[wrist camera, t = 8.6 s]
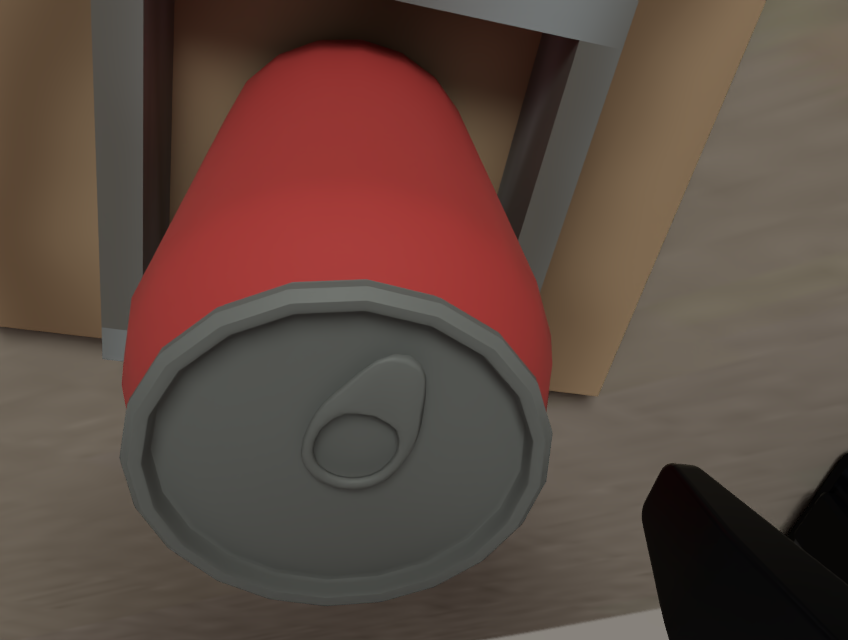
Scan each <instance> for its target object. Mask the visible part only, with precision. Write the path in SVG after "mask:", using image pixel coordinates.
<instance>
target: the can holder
mask: <svg viewBox="0 0 848 640" xmlns="http://www.w3.org/2000/svg"><path fill="white" fill-rule="evenodd" d="M765 3H766V0H0V326H1V327H9V328H18V329H26V330H35V331H43V332H52V333H60V334H69V335H77V336H86V337H95V338H102V356H103V359H107V360H116V361H124V353H125V345H126V337H127V330H128V322H129V314H130V306H131V299H132V296H133V294H134V292H135V290H136V288H137V287H138V285H139V283H140V281H141V279H142V277H143V275H144V273H145V271H146V269H147V267H148V265H149V264H150V262H151V260H152V258H153V256H154V254H155V252H156V250H157V248H158V246H159V244H160V242H161V241H162V239H163V237H164V235H165V233H166V231H167V229H168V227H169V225H170V223H171V221H172V220H173V218H174V216H175V214H176V212H177V210H178V208H179V206H180V204H181V202H182V200H183V198H184V197H185V195H186V193H187V191H188V189H189V187H190V185H191V183H192V181H193V179H194V177H195V176H196V174H197V172H198V170H199V168H200V166H201V164H202V162H203V160H204V158H205V156H206V154H207V153H208V151H209V149H210V147H211V145H212V143H213V141H214V139H215V137H216V135H217V133H218V131H219V130H220V128H221V126H222V124H223V122H224V120H225V118H226V116H227V114H228V113H229V111H230V109H231V108H232V106H233V104H234V102H235V101H236V99H237V97H238V95H239V94H240V92H241V90H242V89H243V87H244V85H245V83H246V82H247V81H248V80H249V79H250V78H251V77H252V76H254V75H255V74H256V73H257V72H258V71H260V70H261V69H262V68H263V67H264V66H266V65H267V64H268V63H269V62H270V61H272V60H273V59H274V58H275V57H276V56H278V55H279V54H282V53H284V52H287V51H290V50H293V49H295V48H298V47H301V46H304V45H306V44H309V43H312V42H315V41H317V40H364V41H367V42H370V43H373V44H376V45H379V46H382V47H386V48H389V49H392V50H395V51H398V52H401V53H403V54H404V55H405V56H407V57H408V58H410V59H411V60H412V61H414V62H415V63H416V64H418V65H419V66H420V67H422V68H423V69H424V70H426V71H427V72H428V73H430V74H431V75H432V76H434V77H435V78H436V79H437V81H438V82H439V84H440V85H441V86H442V88H443V89H444V91H445V92H446V94H447V95H448V96H449V98H450V99H451V101H452V102H453V104H454V105H455V106H456V108H457V109H458V111H459V113H460V115H461V118H462V120H463V122H464V124H465V126H466V128H467V131H468V133H469V135H470V137H471V139H472V141H473V144H474V146H475V148H476V150H477V152H478V155H479V157H480V159H481V161H482V163H483V165H484V168H485V170H486V172H487V174H488V176H489V179H490V181H491V183H492V185H493V187H494V189H495V192H496V194H497V196H498V198H499V200H500V203H501V205H502V207H503V209H504V211H505V213H506V216H507V218H508V220H509V222H510V224H511V227H512V229H513V231H514V233H515V235H516V237H517V240H518V242H519V244H520V246H521V248H522V251H523V253H524V255H525V257H526V259H527V261H528V264H529V266H530V268H531V270H532V272H533V275H534V277H535V279H536V281H537V285H538V288H539V292H540V296H541V300H542V303H543V307H544V311H545V314H546V318H547V322H548V326H549V329H550V333H551V345H552V371H551V379H550V387H549V391H556V392H565V393H573V394H582V395H590V396H598V395H599V392H600V390H601V388H602V385H603V383H604V381H605V378H606V376H607V374H608V371H609V369H610V366H611V364H612V362H613V359H614V357H615V355H616V352H617V350H618V348H619V345H620V343H621V341H622V338H623V336H624V334H625V331H626V329H627V327H628V324H629V322H630V320H631V317H632V315H633V312H634V310H635V308H636V305H637V303H638V301H639V298H640V296H641V294H642V291H643V289H644V287H645V284H646V282H647V280H648V277H649V275H650V273H651V270H652V268H653V266H654V263H655V261H656V259H657V256H658V254H659V251H660V249H661V247H662V244H663V242H664V240H665V237H666V235H667V233H668V230H669V228H670V226H671V223H672V221H673V219H674V216H675V214H676V212H677V209H678V207H679V205H680V202H681V200H682V197H683V195H684V193H685V190H686V188H687V186H688V183H689V181H690V179H691V176H692V174H693V172H694V169H695V167H696V165H697V162H698V160H699V158H700V155H701V153H702V151H703V148H704V146H705V144H706V141H707V139H708V136H709V134H710V132H711V129H712V127H713V125H714V122H715V120H716V118H717V115H718V113H719V111H720V108H721V106H722V104H723V101H724V99H725V97H726V94H727V92H728V90H729V87H730V85H731V82H732V80H733V78H734V75H735V73H736V71H737V68H738V66H739V64H740V61H741V59H742V57H743V54H744V52H745V50H746V47H747V45H748V43H749V40H750V38H751V36H752V33H753V31H754V29H755V26H756V24H757V21H758V19H759V17H760V14H761V12H762V10H763V7H764V5H765Z"/></svg>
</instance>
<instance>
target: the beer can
mask: <svg viewBox="0 0 848 640" xmlns="http://www.w3.org/2000/svg"><path fill="white" fill-rule="evenodd" d="M551 371H552V345H551V333H550V329H549V326H548V322H547V318H546V314H545V311H544V307H543V303H542V300H541V296H540V292H539V288H538V285H537V281H536V279H535V277H534V275H533V272H532V270H531V268H530V266H529V264H528V261H527V259H526V257H525V255H524V253H523V251H522V248H521V246H520V244H519V242H518V240H517V237H516V235H515V233H514V231H513V229H512V227H511V224H510V222H509V220H508V218H507V216H506V213H505V211H504V209H503V207H502V205H501V203H500V200H499V198H498V196H497V194H496V192H495V189H494V187H493V185H492V183H491V181H490V179H489V176H488V174H487V172H486V170H485V168H484V165H483V163H482V161H481V159H480V157H479V155H478V152H477V150H476V148H475V146H474V144H473V141H472V139H471V137H470V135H469V133H468V131H467V128H466V126H465V124H464V122H463V120H462V118H461V115H460V113H459V111H458V109H457V108H456V106H455V105H454V104H453V102H452V101H451V99H450V98H449V96H448V95H447V94H446V92H445V91H444V89H443V88H442V86H441V85H440V84H439V82H438V81H437V79H436V78H435V77H434V76H432V75H431V74H430V73H428V72H427V71H426V70H424V69H423V68H422V67H420V66H419V65H418V64H416V63H415V62H414V61H412V60H411V59H410V58H408V57H407V56H405V55H404V54H403V53H401V52H398V51H395V50H392V49H389V48H386V47H382V46H379V45H376V44H373V43H370V42H367V41H364V40H317V41H315V42H312V43H309V44H306V45H304V46H301V47H298V48H295V49H293V50H290V51H287V52H284V53H282V54H279V55H278V56H276V57H275V58H274V59H273V60H272V61H270V62H269V63H268V64H267V65H266V66H264V67H263V68H262V69H261V70H260V71H258V72H257V73H256V74H255V75H254V76H252V77H251V78H250V79H249V80H248V81H247V82H246V83H245V85H244V87H243V89H242V90H241V92H240V94H239V95H238V97H237V99H236V101H235V102H234V104H233V106H232V108H231V109H230V111H229V113H228V114H227V116H226V118H225V120H224V122H223V124H222V126H221V128H220V130H219V131H218V133H217V135H216V137H215V139H214V141H213V143H212V145H211V147H210V149H209V151H208V153H207V154H206V156H205V158H204V160H203V162H202V164H201V166H200V168H199V170H198V172H197V174H196V176H195V177H194V179H193V181H192V183H191V185H190V187H189V189H188V191H187V193H186V195H185V197H184V198H183V200H182V202H181V204H180V206H179V208H178V210H177V212H176V214H175V216H174V218H173V220H172V221H171V223H170V225H169V227H168V229H167V231H166V233H165V235H164V237H163V239H162V241H161V242H160V244H159V246H158V248H157V250H156V252H155V254H154V256H153V258H152V260H151V262H150V264H149V265H148V267H147V269H146V271H145V273H144V275H143V277H142V279H141V281H140V283H139V285H138V287H137V288H136V290H135V292H134V294H133V296H132V299H131V306H130V314H129V322H128V330H127V337H126V345H125V353H124V364H123V376H122V388H123V394H124V399H125V404H126V415H125V422H124V429H123V437H122V444H121V451H120V461H121V464H122V468H123V471H124V474H125V477H126V480H127V484H128V487H129V490H130V493H131V496H132V500H133V503H134V506H135V508H136V509H137V510H138V512H139V513H140V514H141V515H142V517H143V518H144V519H145V520H146V521H147V523H148V524H149V525H150V526H151V528H152V529H153V530H154V531H155V533H156V534H157V535H158V536H159V538H160V539H161V540H162V541H163V542H164V544H165V545H166V546H167V547H168V548H169V549H170V550H172V551H173V552H175V553H176V554H178V555H179V556H181V557H182V558H184V559H185V560H187V561H188V562H190V563H191V564H193V565H194V566H196V567H197V568H199V569H200V570H202V571H203V572H205V573H206V574H208V575H209V576H211V577H212V578H214V579H215V580H217V581H219V582H222V583H225V584H228V585H231V586H234V587H236V588H239V589H242V590H245V591H248V592H251V593H254V594H256V595H259V596H262V597H265V598H268V599H273V600H281V601H289V602H297V603H305V604H313V605H321V606H333V605H346V604H360V603H373V602H383V601H386V600H390V599H393V598H397V597H400V596H404V595H407V594H411V593H415V592H418V591H422V590H425V589H429V588H432V587H435V586H437V585H439V584H441V583H442V582H444V581H446V580H448V579H450V578H452V577H454V576H455V575H457V574H459V573H461V572H463V571H465V570H467V569H468V568H470V567H472V566H474V565H476V564H478V563H480V562H481V561H482V560H484V559H485V558H486V557H487V556H488V555H489V554H490V553H491V552H493V551H494V550H495V549H496V548H497V547H498V546H499V545H500V544H501V543H502V542H503V541H504V540H506V539H507V538H508V537H509V536H510V535H511V534H512V533H513V532H514V531H515V530H516V529H517V528H518V527H520V526H521V525H522V523H523V522H524V520H525V518H526V516H527V514H528V513H529V511H530V509H531V507H532V506H533V504H534V502H535V500H536V498H537V497H538V495H539V493H540V491H541V489H542V488H543V486H544V484H545V482H546V478H547V471H548V463H549V456H550V448H551V441H552V430H551V426H550V423H549V419H548V416H547V413H546V411H547V403H548V395H549V387H550V379H551Z"/></svg>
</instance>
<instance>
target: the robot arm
mask: <svg viewBox="0 0 848 640" xmlns="http://www.w3.org/2000/svg"><path fill="white" fill-rule="evenodd" d="M642 523H643V528H644V533H645V537H646V542H647V547H648V551H649V556H650V561H651V565H652V570H653V575H654V579H655V584H656V589H657V593H658V598H659V603H660V607H661V611H662V615H663V619H664V623H665V627H666V631H667V634H668V637H669V640H848V453H847V454H846V455H844V456H843V458H842V459H841V460H840V461H839V463H838V464H837V466H836V467H835V469H834V470H833V472H832V473H831V474H830V476H829V477H828V479H827V480H826V482H825V483H824V485H823V486H822V487H821V489H820V490H819V492H818V493H817V495H816V496H815V498H814V499H813V500H812V502H811V503H810V505H809V506H808V508H807V509H806V511H805V512H804V513H803V515H802V516H801V518H800V519H799V521H798V522H797V524H796V525H795V526H794V528H793V529H792V531H791V532H790V534H789V535H788V537H787V536H785V535H784V534H783V533H781V532H780V531H779V530H778V529H776V528H775V527H774V526H773V525H771V524H770V523H769V522H768V521H766V520H765V519H764V518H762V517H761V516H760V515H759V514H757V513H756V512H755V511H754V510H752V509H751V508H750V507H749V506H747V505H746V504H745V503H743V502H742V501H741V500H740V499H738V498H737V497H736V496H735V495H733V494H732V493H731V492H730V491H728V490H727V489H726V488H724V487H723V486H722V485H721V484H719V483H718V482H717V481H716V480H714V479H713V478H712V477H711V476H709V475H708V474H707V473H705V472H704V471H703V470H702V469H700V468H699V467H697V466H694V465H686V464H676V463H671V464H667V465H666V466H665V467H663V468H662V470H661V472H660V474H659V475H658V477H657V479H656V481H655V483H654V485H653V487H652V489H651V491H650V493H649V495H648V497H647V499H646V500H645V502H644V505H643V509H642Z"/></svg>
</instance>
